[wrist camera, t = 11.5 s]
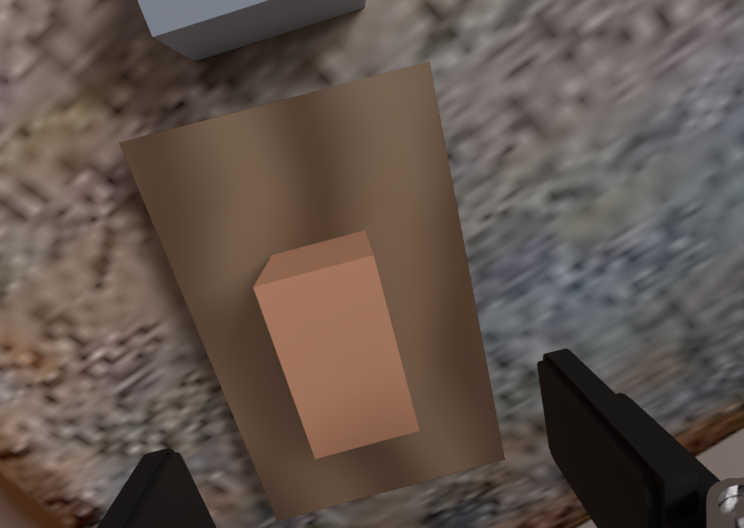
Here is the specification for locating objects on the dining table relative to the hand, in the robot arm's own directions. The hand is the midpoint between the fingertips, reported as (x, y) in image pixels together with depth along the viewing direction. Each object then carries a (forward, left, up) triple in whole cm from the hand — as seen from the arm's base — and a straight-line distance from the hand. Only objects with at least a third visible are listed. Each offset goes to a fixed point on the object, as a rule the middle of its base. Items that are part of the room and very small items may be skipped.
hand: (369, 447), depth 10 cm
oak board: (+1, 0, -10) cm, 10 cm away
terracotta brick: (+1, 0, -8) cm, 8 cm away
